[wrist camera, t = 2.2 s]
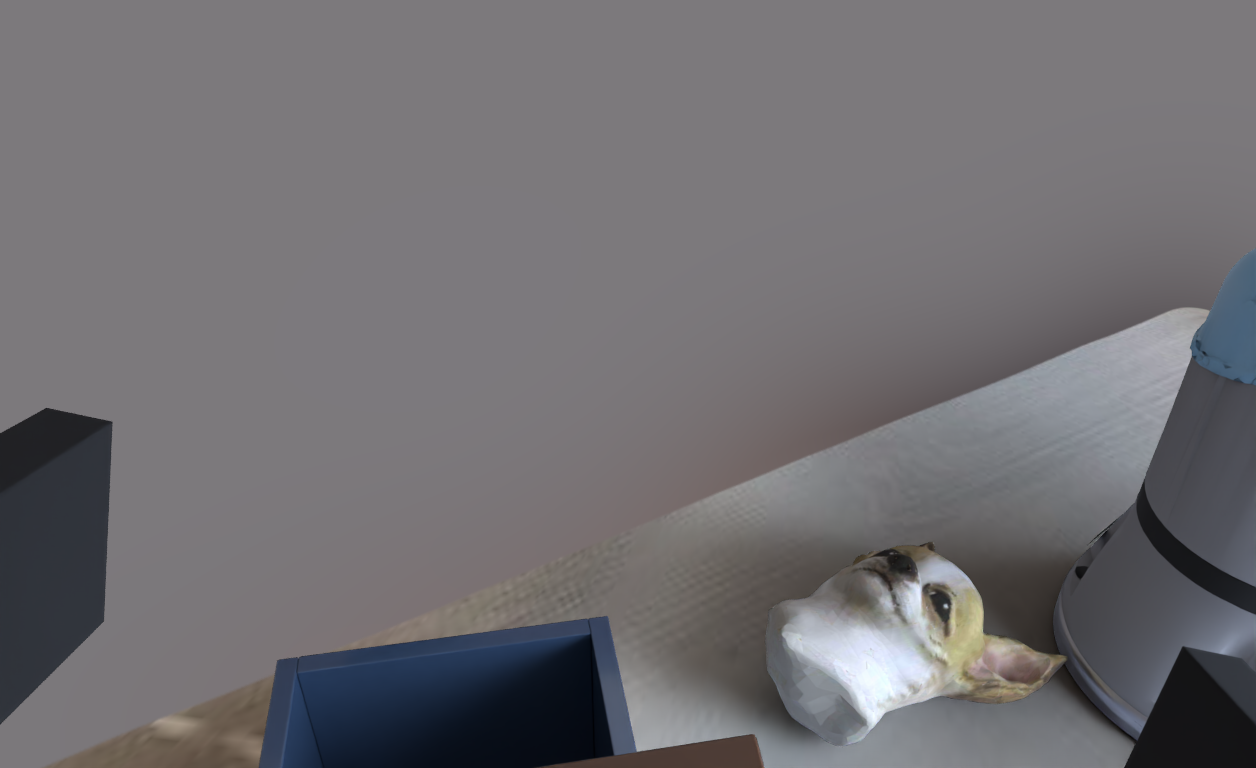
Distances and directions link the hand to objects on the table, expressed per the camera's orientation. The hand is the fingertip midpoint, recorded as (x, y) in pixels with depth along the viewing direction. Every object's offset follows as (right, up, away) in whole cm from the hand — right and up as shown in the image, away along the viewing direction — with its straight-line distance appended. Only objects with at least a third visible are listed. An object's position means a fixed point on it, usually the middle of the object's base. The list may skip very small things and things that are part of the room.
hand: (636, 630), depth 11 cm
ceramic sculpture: (+13, -12, +36) cm, 41 cm away
